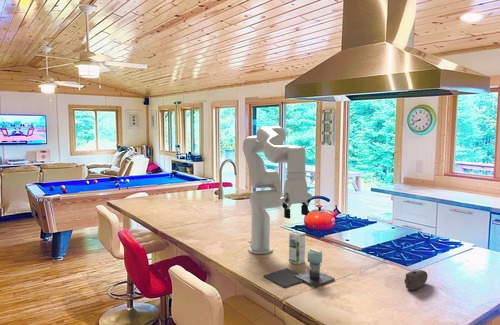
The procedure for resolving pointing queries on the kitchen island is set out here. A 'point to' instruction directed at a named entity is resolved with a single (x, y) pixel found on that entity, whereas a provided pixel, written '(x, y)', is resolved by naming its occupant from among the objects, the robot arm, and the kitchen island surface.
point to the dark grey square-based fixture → (314, 276)
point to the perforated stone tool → (415, 279)
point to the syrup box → (296, 247)
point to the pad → (283, 277)
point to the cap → (314, 256)
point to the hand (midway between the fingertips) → (295, 216)
